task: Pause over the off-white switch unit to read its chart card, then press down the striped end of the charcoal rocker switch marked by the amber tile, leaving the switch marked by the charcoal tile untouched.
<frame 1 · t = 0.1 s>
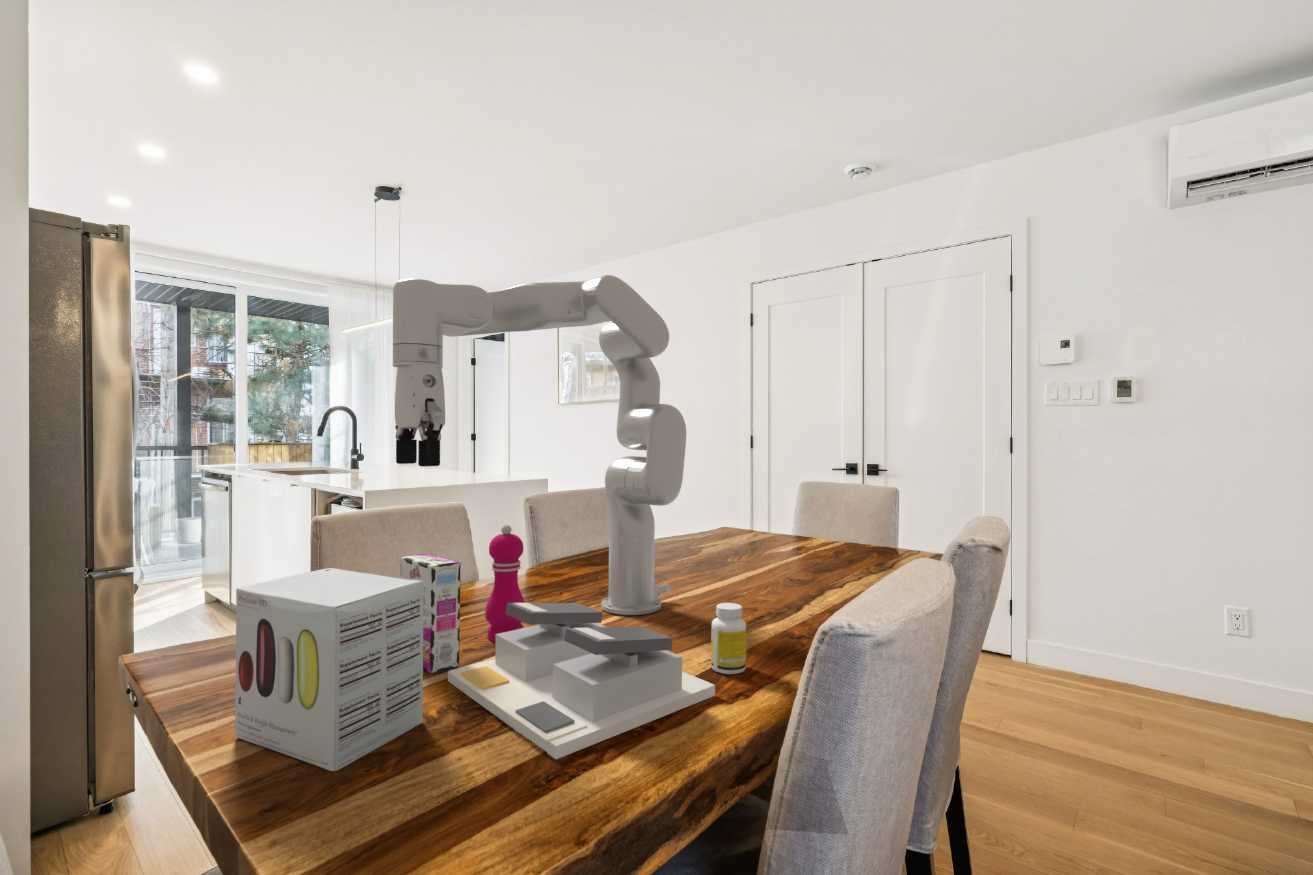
hand: (417, 464, 100), 31 cm above the table, tool pointing down, fingers open, 9 cm apart
marked switch: (555, 612, 96), point 9 cm above the table, hinge at -10.0°
plain switch: (619, 638, 84), point 9 cm above the table, hinge at -10.0°
pepper mill: (505, 637, 111), on the table
candy bar box: (429, 662, 99), on the table
switch unit: (578, 688, 89), on the table
supplement box: (331, 733, 76), on the table
supplement bottle: (728, 669, 97), on the table
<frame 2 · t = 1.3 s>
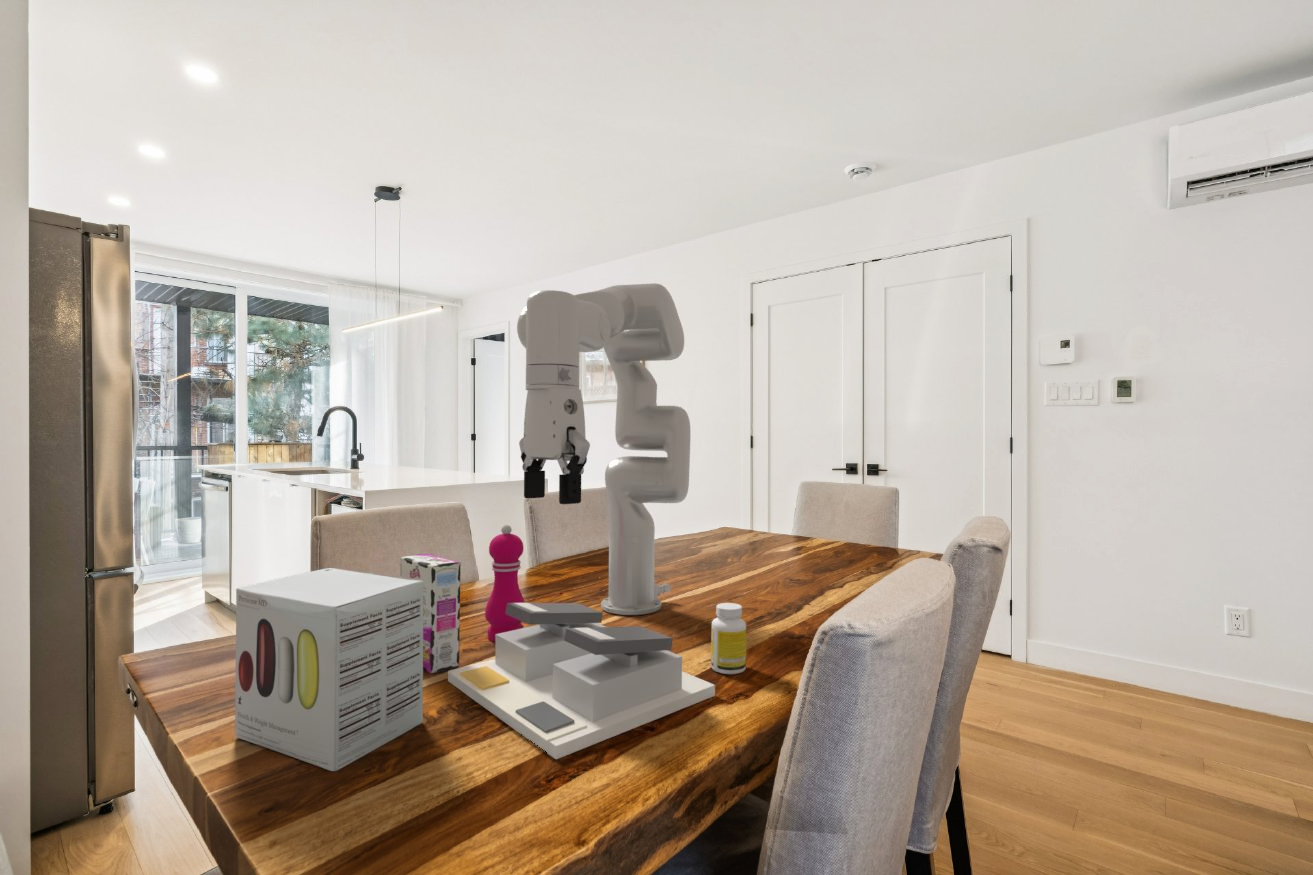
hand: (551, 500, 89), 27 cm above the table, tool pointing down, fingers open, 9 cm apart
nothing on the table moved.
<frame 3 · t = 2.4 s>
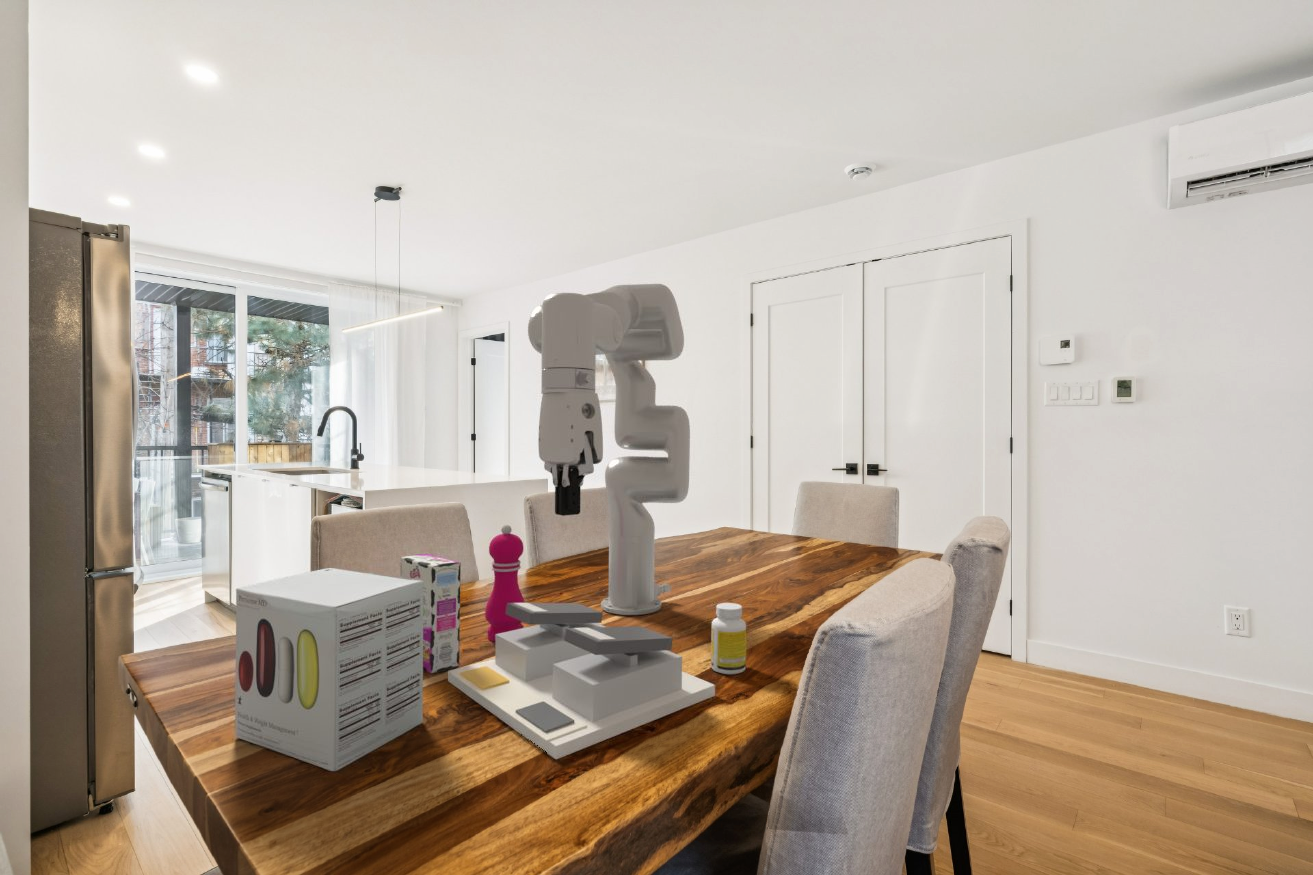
hand: (567, 514, 88), 25 cm above the table, tool pointing down, fingers closed
nothing on the table moved.
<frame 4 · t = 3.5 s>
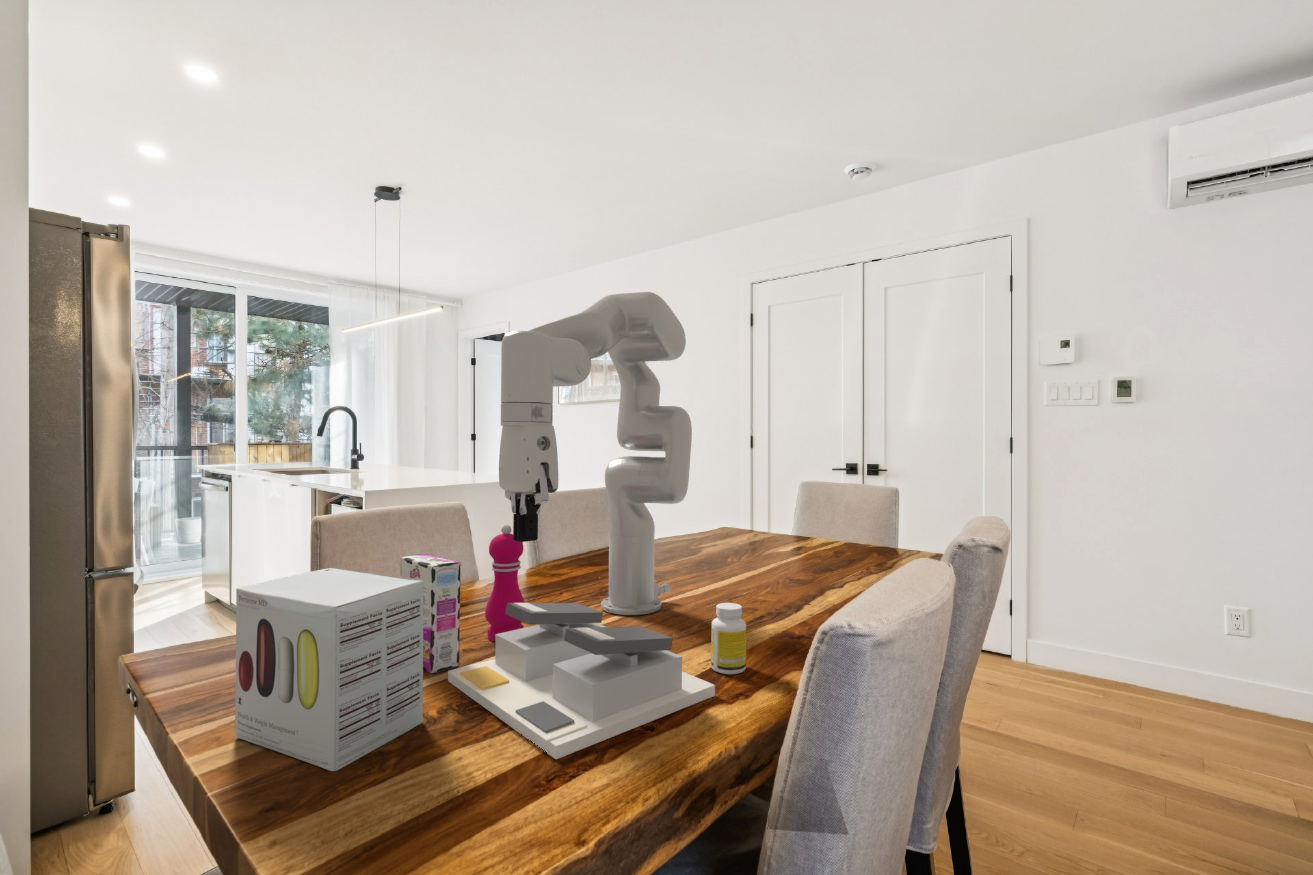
hand: (525, 540, 92), 21 cm above the table, tool pointing down, fingers closed
nothing on the table moved.
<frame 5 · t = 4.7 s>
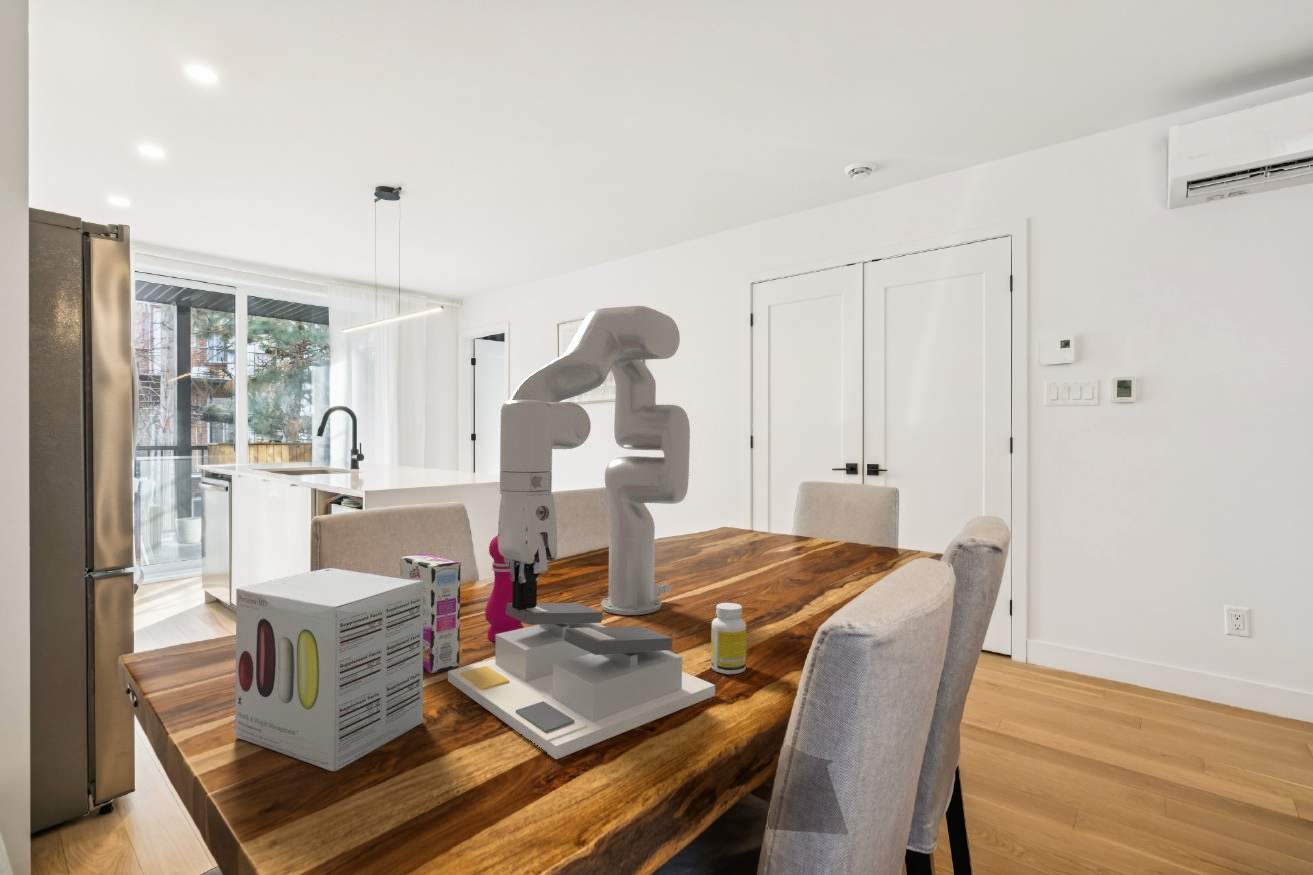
hand: (524, 607, 92), 11 cm above the table, tool pointing down, fingers closed
marked switch: (555, 612, 96), point 9 cm above the table, hinge at -9.9°, touching gripper
everything else where it was.
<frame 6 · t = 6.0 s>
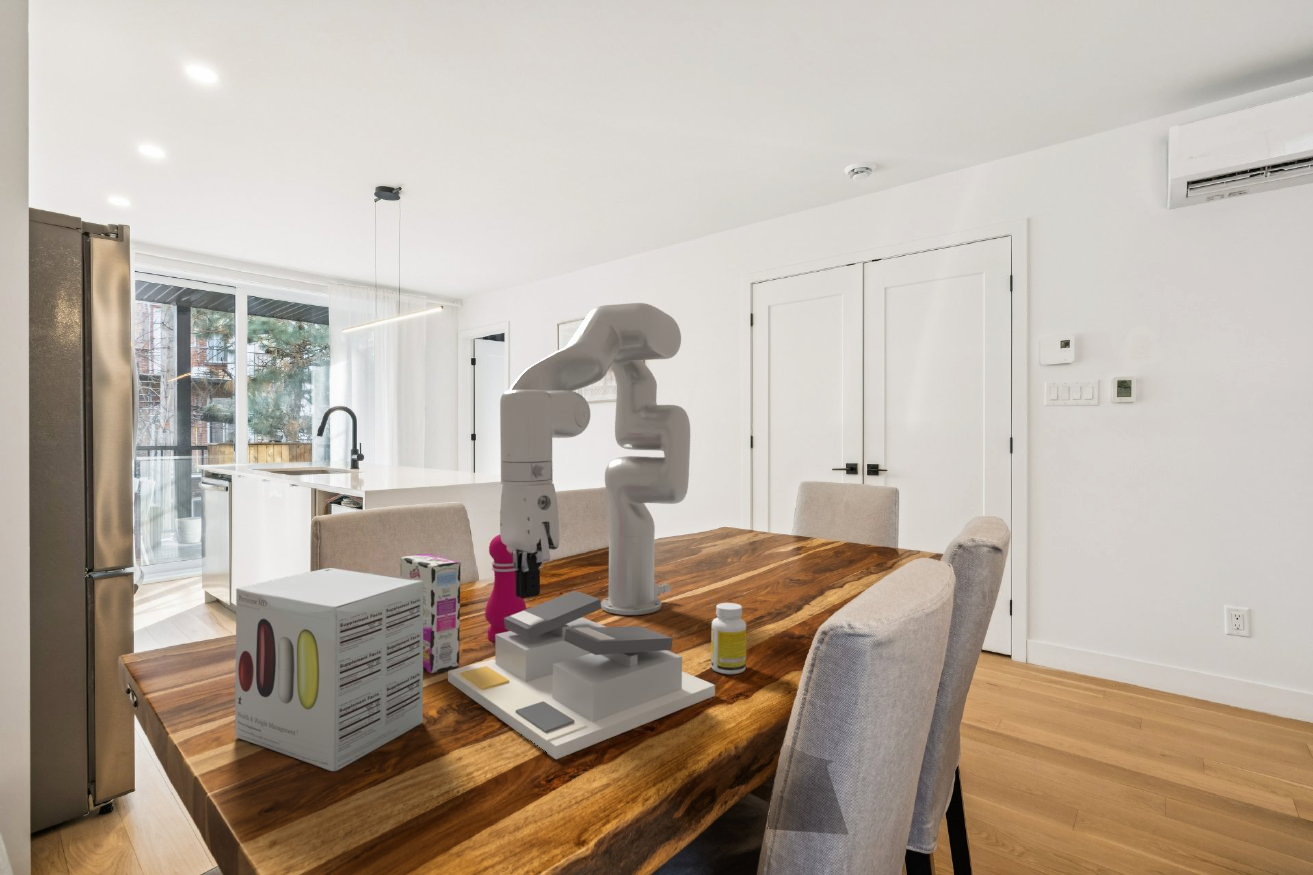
hand: (527, 595, 93), 12 cm above the table, tool pointing down, fingers closed
marked switch: (553, 612, 96), point 9 cm above the table, hinge at 9.4°
everything else where it was.
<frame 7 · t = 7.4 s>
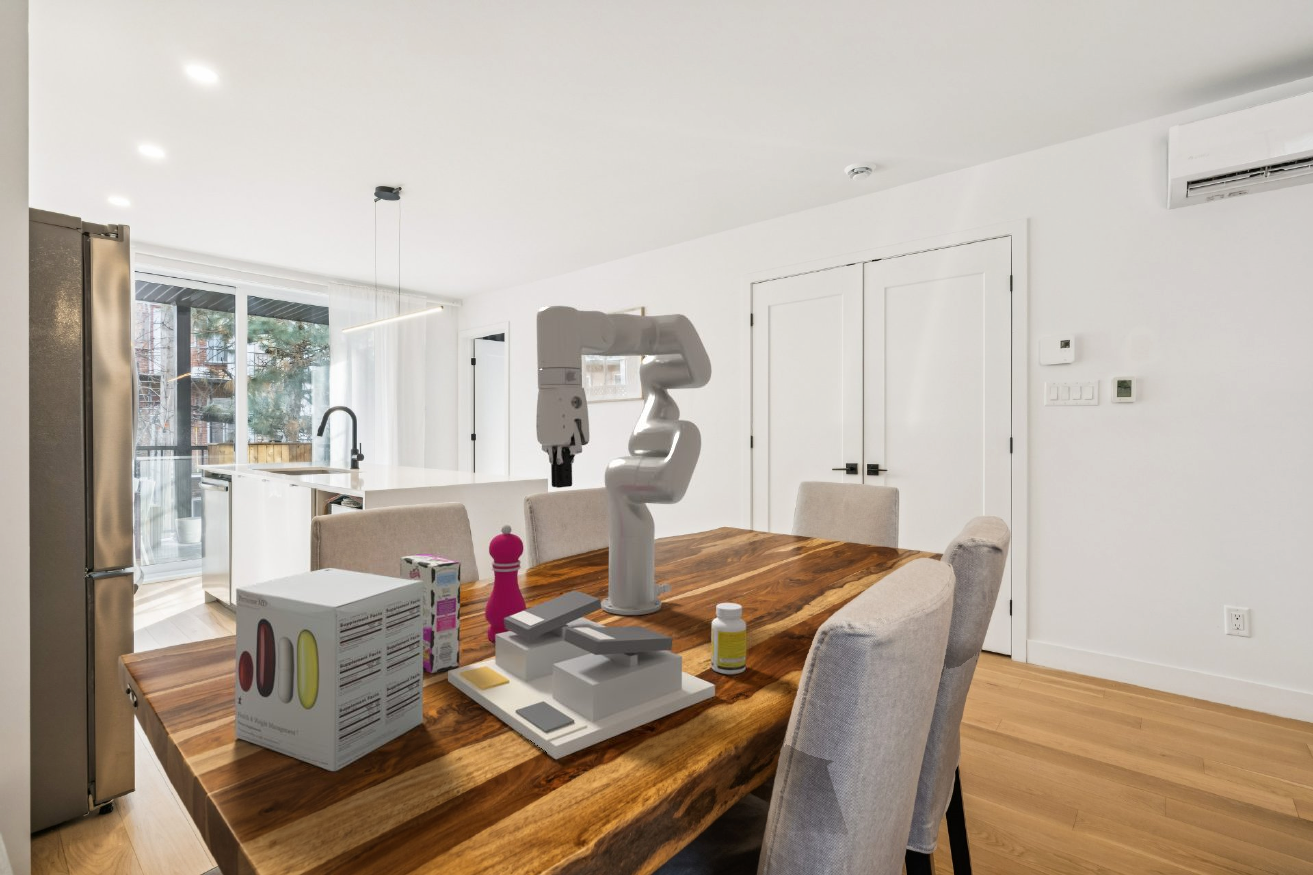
hand: (562, 486, 108), 27 cm above the table, tool pointing down, fingers closed
nothing on the table moved.
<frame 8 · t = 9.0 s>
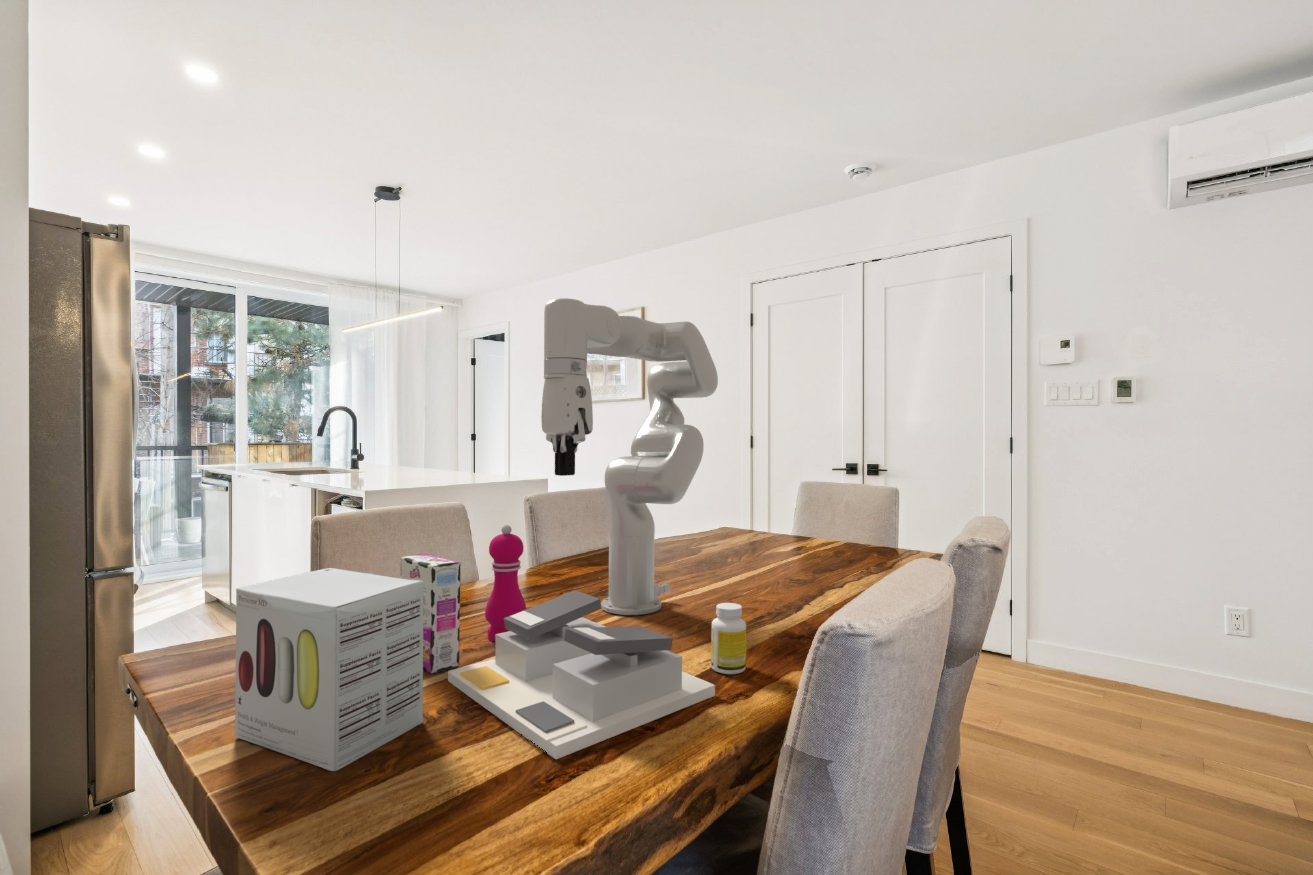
hand: (564, 474, 110), 29 cm above the table, tool pointing down, fingers closed
nothing on the table moved.
at the end: marked switch at +10° (first picture: -10°); plain switch at -10° (first picture: -10°) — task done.
